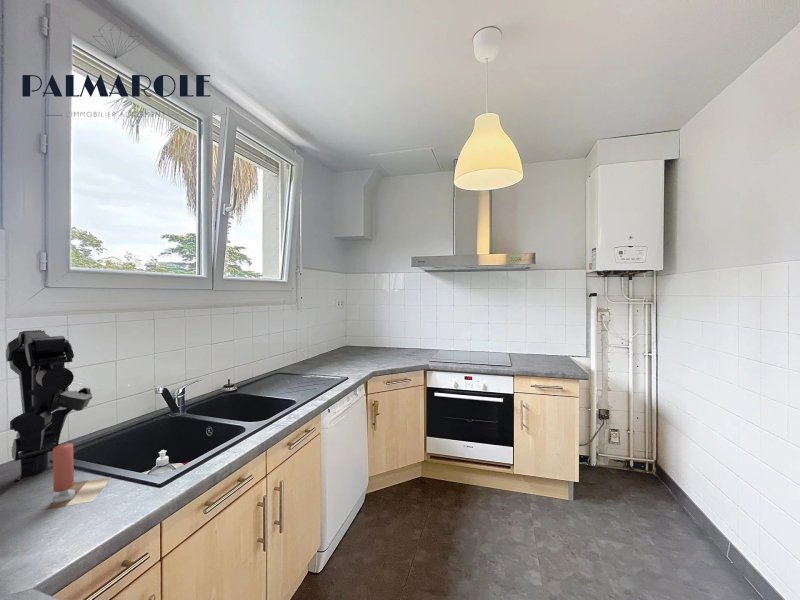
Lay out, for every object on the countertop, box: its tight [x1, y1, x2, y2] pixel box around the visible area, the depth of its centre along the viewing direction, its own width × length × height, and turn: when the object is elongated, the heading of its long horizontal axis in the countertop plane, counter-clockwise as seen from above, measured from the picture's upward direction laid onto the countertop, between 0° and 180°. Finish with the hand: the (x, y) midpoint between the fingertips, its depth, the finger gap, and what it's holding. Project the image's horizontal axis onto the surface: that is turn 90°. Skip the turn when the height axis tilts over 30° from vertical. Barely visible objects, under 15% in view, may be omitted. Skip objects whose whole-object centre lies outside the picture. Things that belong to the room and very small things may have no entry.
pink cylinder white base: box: [51, 443, 75, 504], centre depth 84 cm, size 4×4×13 cm
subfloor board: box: [44, 476, 112, 511], centre depth 88 cm, size 12×9×1 cm
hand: (47, 442), depth 90 cm, fingers open, 9 cm apart
